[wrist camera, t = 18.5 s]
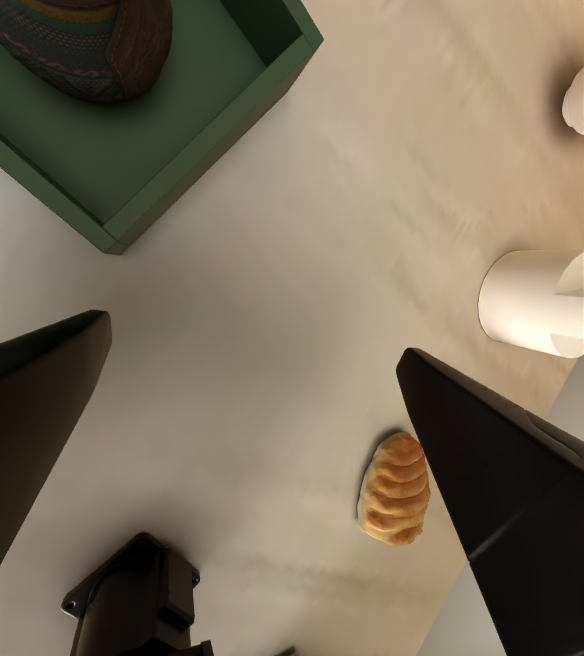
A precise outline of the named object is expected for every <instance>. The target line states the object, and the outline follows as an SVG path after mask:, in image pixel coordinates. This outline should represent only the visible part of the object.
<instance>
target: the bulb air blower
mask: <svg viewBox="0 0 584 656" xmlns="http://www.w3.org/2000/svg"><path fill="white" fill-rule="evenodd" d="M562 114H563V117H564V119H565V121H566V123H567V125H569V126H570V127H573V128H574V129H575V131H577V132H578V133H580V134H582V135H584V67H583V68H582V69H581V70H580V71H579V72H578V74H577V75H576V76H575V78H574V80H573V82H572V85H571V86H570V87H569V89H568V90H567V92H566V94H565V97H564V102H563V105H562Z"/></svg>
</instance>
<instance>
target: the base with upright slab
mask: <svg viewBox="0 0 584 656" xmlns="http://www.w3.org/2000/svg"><path fill="white" fill-rule="evenodd" d="M478 310H479V319H480V322H481V326H482V328H483V329H484V331H485V333H486V334H487V335H488V336H489V337H491V338H492V339H493V340H497V341H500V342H504V343H508V344H512V345H517V346H521V347H525V348H529V349H533V350H537V351H541V352H546V353H550V354H554V355H558V356H562V357H566V358H576V357H580V356H582V355H584V249H558V250H526V251H513V252H510V253H507V254H505V255H504V256H502V257H501V258H500V259H498V260H497V261H496V262H495V264H494V265H493V266H492V267H491V268H490V270H489V272H488V273H487V275H486V277H485V279H484V281H483V284H482V287H481V290H480V295H479V302H478Z"/></svg>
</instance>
